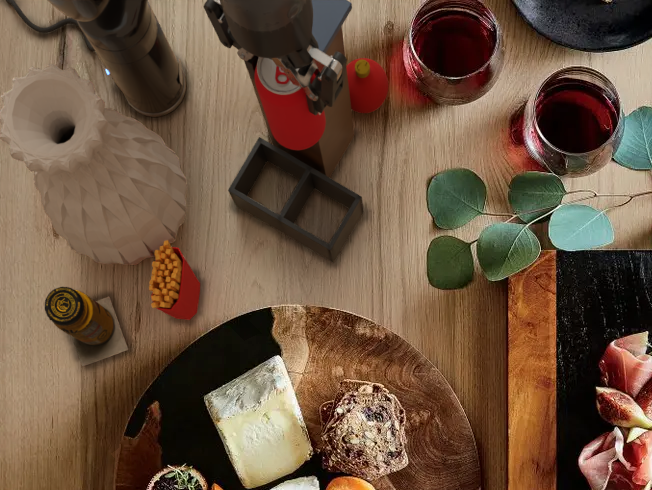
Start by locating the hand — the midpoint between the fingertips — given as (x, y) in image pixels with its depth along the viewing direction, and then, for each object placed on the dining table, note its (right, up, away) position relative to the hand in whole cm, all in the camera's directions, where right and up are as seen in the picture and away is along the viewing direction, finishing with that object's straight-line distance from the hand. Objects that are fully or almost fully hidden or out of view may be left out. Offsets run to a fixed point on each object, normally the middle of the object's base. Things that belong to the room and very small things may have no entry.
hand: (289, 89), depth 84 cm
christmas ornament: (+7, +18, +38) cm, 43 cm away
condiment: (-33, -16, +39) cm, 53 cm away
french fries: (-20, -11, +38) cm, 45 cm away
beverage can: (0, 0, +8) cm, 8 cm away
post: (-1, +12, +38) cm, 40 cm away
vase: (-28, +1, +39) cm, 47 cm away
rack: (-3, +2, +38) cm, 38 cm away
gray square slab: (-1, +12, +8) cm, 14 cm away
